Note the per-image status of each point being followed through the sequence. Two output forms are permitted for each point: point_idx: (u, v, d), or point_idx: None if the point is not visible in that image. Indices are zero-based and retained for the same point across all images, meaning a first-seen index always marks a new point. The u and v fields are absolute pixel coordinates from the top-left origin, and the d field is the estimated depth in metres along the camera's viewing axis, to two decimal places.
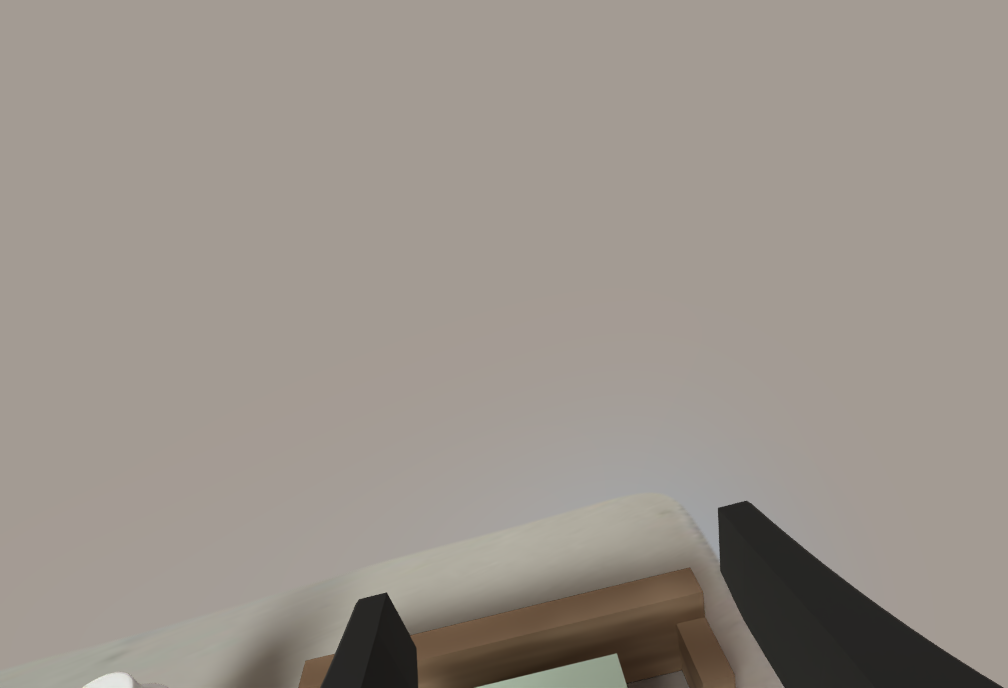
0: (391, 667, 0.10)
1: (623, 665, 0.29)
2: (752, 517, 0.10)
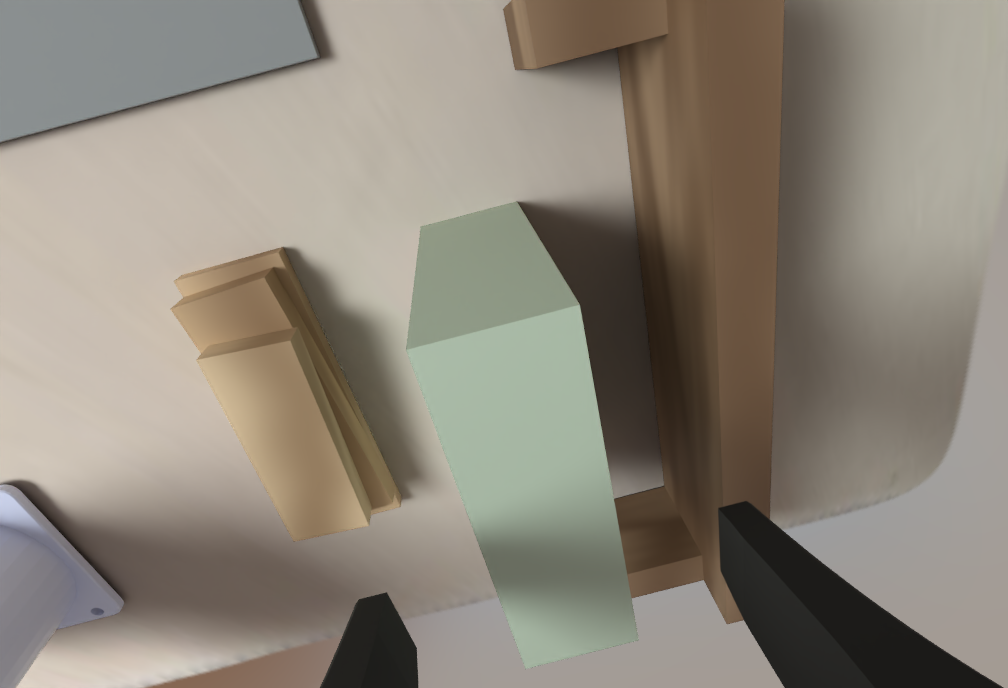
0: (391, 667, 0.10)
1: (673, 457, 0.22)
2: (752, 517, 0.10)
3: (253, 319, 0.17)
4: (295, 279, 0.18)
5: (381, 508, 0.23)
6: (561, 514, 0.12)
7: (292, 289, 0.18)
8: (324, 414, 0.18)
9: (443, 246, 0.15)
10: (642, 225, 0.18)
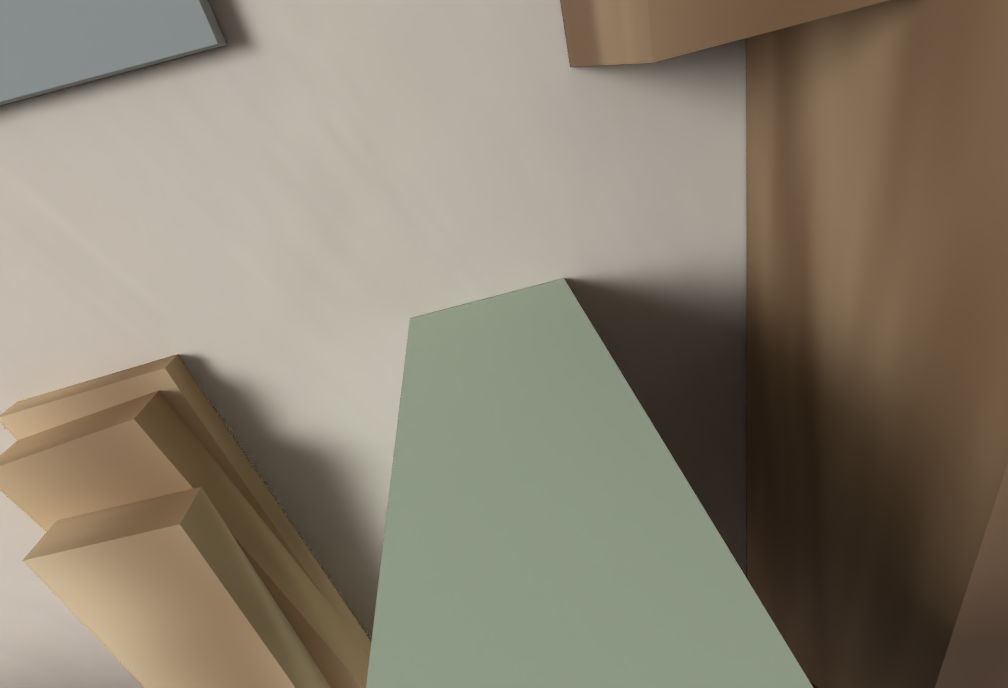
0: None
1: (776, 626, 0.15)
2: None
3: (125, 480, 0.10)
4: (201, 402, 0.11)
5: None
6: None
7: (194, 420, 0.11)
8: (253, 613, 0.11)
9: (446, 383, 0.08)
10: (764, 316, 0.11)
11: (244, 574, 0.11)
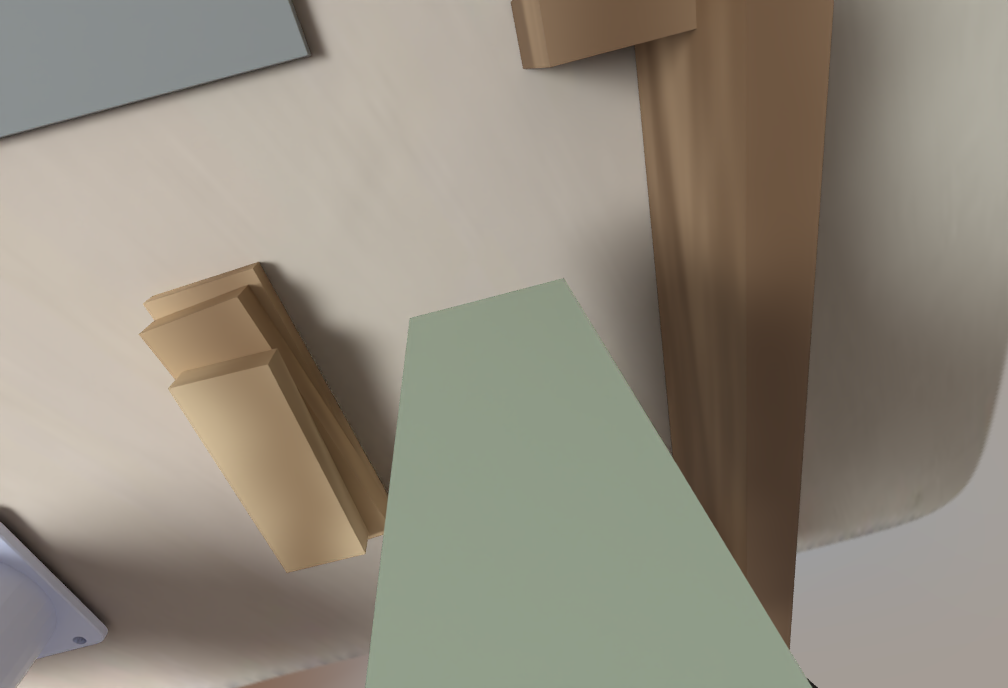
0: None
1: (688, 480, 0.20)
2: None
3: (229, 342, 0.16)
4: (273, 296, 0.16)
5: (380, 532, 0.21)
6: None
7: (270, 307, 0.16)
8: (310, 440, 0.17)
9: (445, 382, 0.08)
10: (659, 236, 0.16)
11: (304, 413, 0.17)
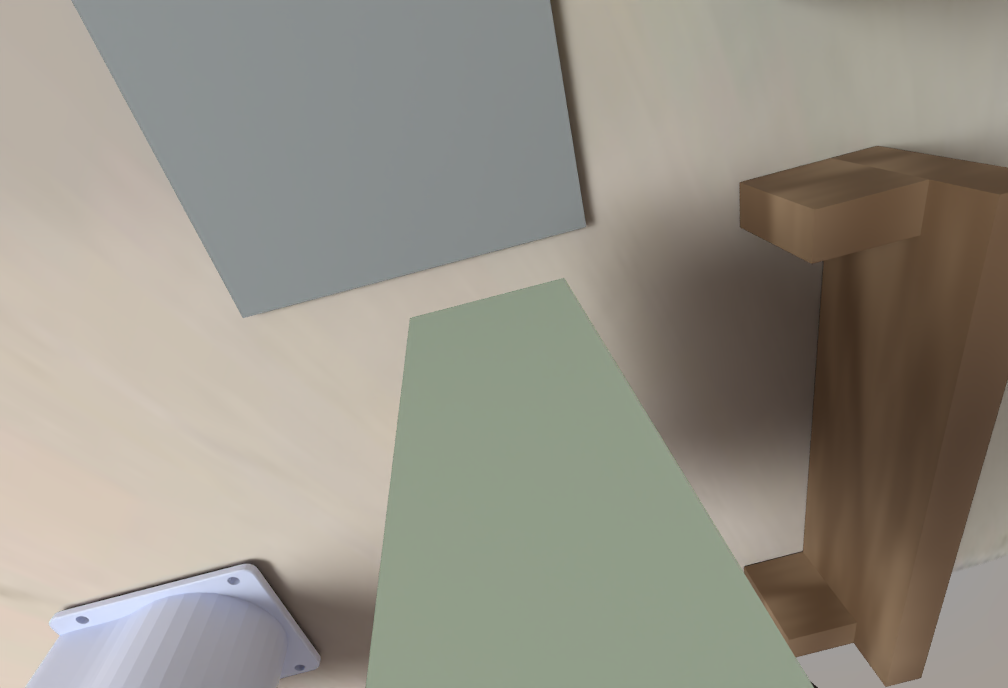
0: None
1: (827, 534, 0.24)
2: None
3: None
4: None
5: None
6: None
7: None
8: None
9: (446, 382, 0.08)
10: (829, 347, 0.20)
11: None
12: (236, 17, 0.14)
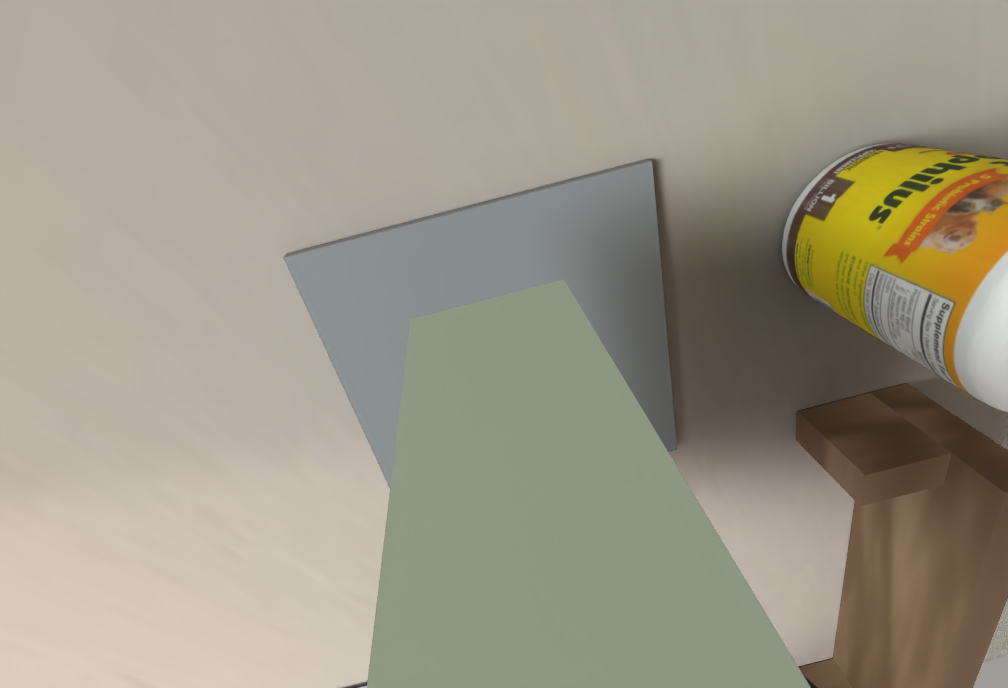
0: None
1: (856, 654, 0.29)
2: None
3: None
4: None
5: None
6: None
7: None
8: None
9: (446, 384, 0.08)
10: (864, 520, 0.25)
11: None
12: None
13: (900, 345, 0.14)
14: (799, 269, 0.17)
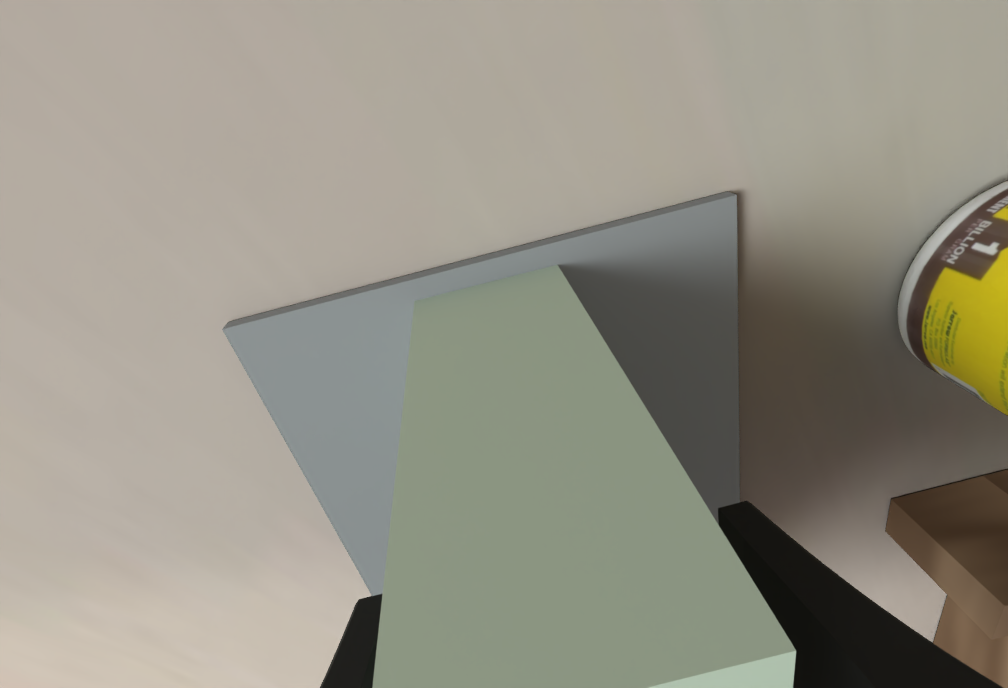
0: None
1: None
2: (752, 517, 0.10)
3: None
4: None
5: None
6: None
7: None
8: None
9: (448, 355, 0.09)
10: (960, 621, 0.20)
11: None
12: None
13: None
14: (929, 339, 0.13)
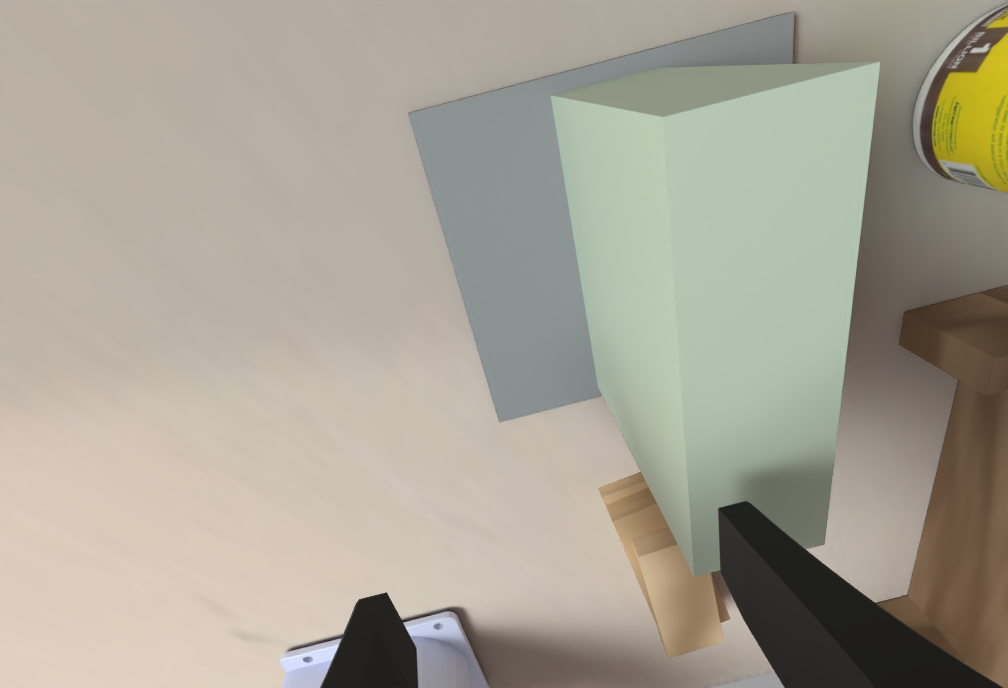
0: (391, 667, 0.10)
1: (939, 584, 0.28)
2: (752, 517, 0.10)
3: None
4: None
5: None
6: (783, 369, 0.10)
7: None
8: None
9: (601, 92, 0.13)
10: (961, 436, 0.24)
11: None
12: (551, 211, 0.17)
13: None
14: (937, 135, 0.17)
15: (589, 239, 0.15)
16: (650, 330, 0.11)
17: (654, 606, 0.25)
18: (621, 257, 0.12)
